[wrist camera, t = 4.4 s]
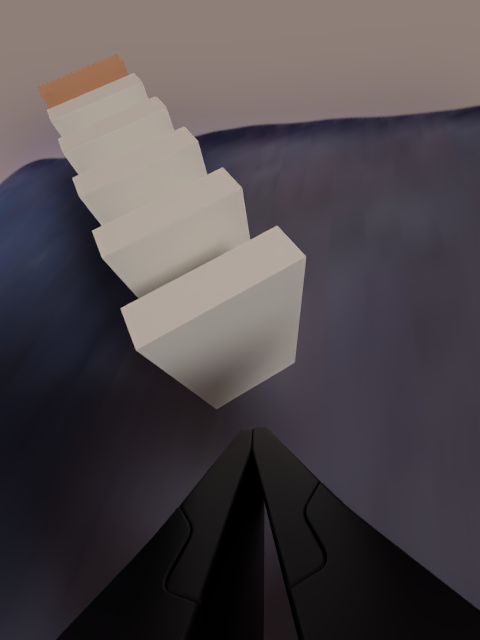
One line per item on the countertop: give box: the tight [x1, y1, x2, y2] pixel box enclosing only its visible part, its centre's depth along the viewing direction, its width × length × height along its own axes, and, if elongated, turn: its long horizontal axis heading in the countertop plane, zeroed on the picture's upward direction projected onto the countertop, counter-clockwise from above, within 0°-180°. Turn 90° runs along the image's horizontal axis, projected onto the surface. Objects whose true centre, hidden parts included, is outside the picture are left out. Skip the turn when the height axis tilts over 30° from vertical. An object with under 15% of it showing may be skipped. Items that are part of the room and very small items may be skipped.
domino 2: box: [47, 73, 148, 137], centre depth 20 cm, size 2×6×10 cm, turn 119°
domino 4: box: [72, 127, 207, 226], centre depth 16 cm, size 2×6×10 cm, turn 119°
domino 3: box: [58, 96, 174, 175], centre depth 18 cm, size 2×6×10 cm, turn 120°
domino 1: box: [38, 55, 128, 108], centre depth 22 cm, size 2×6×10 cm, turn 119°
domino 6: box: [120, 226, 306, 409], centre depth 12 cm, size 2×6×10 cm, turn 119°
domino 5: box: [92, 167, 250, 298], centre depth 14 cm, size 2×6×10 cm, turn 119°
